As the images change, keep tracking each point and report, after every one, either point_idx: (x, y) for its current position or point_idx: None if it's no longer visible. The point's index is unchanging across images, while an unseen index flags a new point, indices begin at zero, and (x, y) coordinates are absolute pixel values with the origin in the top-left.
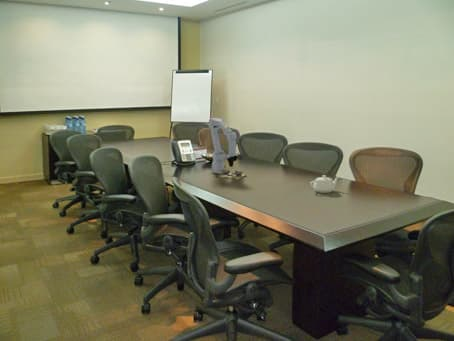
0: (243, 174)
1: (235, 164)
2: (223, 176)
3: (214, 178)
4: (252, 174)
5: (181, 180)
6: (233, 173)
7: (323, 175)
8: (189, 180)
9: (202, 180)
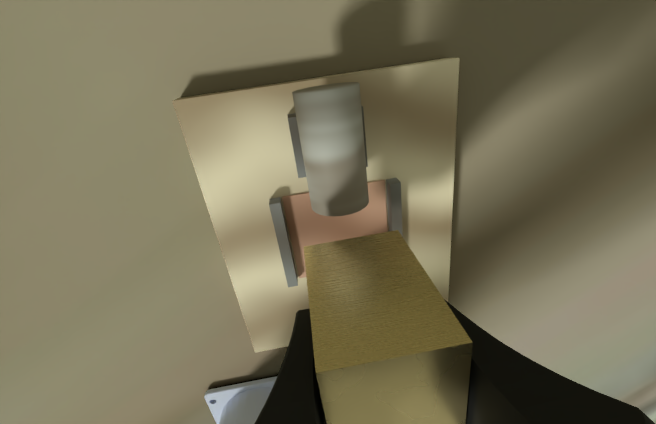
0: (206, 138)
1: (362, 288)
2: (448, 261)
3: (503, 294)
4: (8, 86)
5: (643, 397)
6: (291, 255)
7: None
8: (632, 369)
9: (610, 312)
